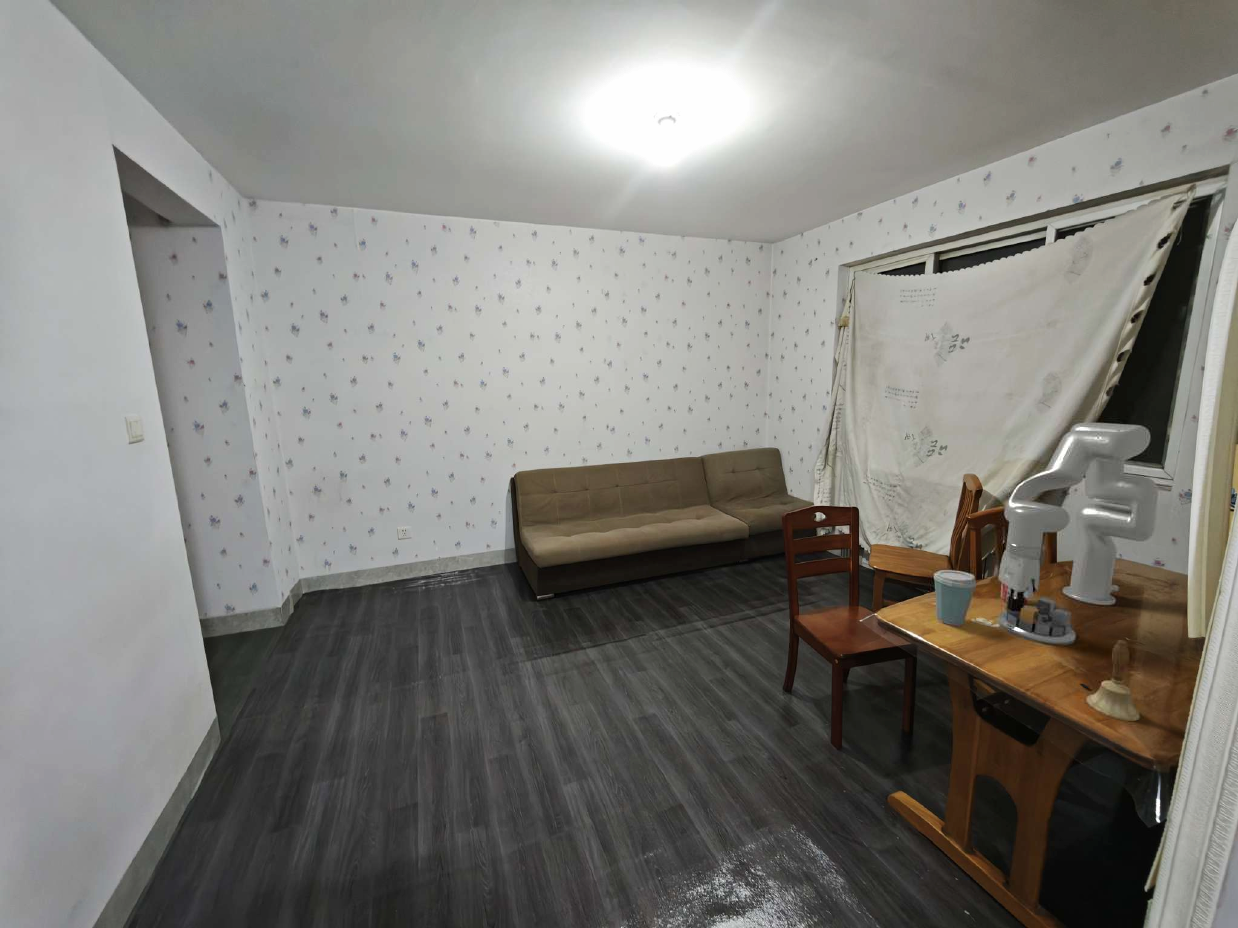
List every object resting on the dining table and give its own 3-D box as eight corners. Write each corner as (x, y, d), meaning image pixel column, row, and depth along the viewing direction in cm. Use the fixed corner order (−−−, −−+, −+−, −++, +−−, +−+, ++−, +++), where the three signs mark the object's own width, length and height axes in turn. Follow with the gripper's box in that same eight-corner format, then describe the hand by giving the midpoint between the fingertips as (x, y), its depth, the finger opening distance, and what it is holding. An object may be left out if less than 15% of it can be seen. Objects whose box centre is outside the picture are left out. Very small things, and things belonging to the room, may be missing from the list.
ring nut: (995, 619, 142) (998, 600, 141) (1017, 608, 149) (1020, 590, 148) (1056, 641, 130) (1059, 620, 129) (1077, 627, 137) (1080, 608, 136)
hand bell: (1128, 725, 101) (1140, 655, 98) (1078, 702, 108) (1088, 636, 106) (1147, 714, 104) (1160, 646, 102) (1097, 692, 112) (1108, 628, 109)
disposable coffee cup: (925, 621, 146) (930, 574, 143) (933, 609, 153) (937, 564, 151) (968, 633, 138) (974, 583, 136) (974, 619, 146) (979, 572, 144)
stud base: (1028, 613, 150) (1030, 597, 149) (1091, 641, 134) (1094, 624, 133) (983, 619, 147) (985, 603, 146) (1042, 648, 130) (1044, 631, 129)
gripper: (992, 541, 145) (985, 598, 148) (1026, 558, 131) (1018, 621, 134) (1019, 541, 144) (1012, 599, 147) (1057, 559, 130) (1048, 623, 133)
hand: (1015, 610), depth 140 cm, fingers closed
